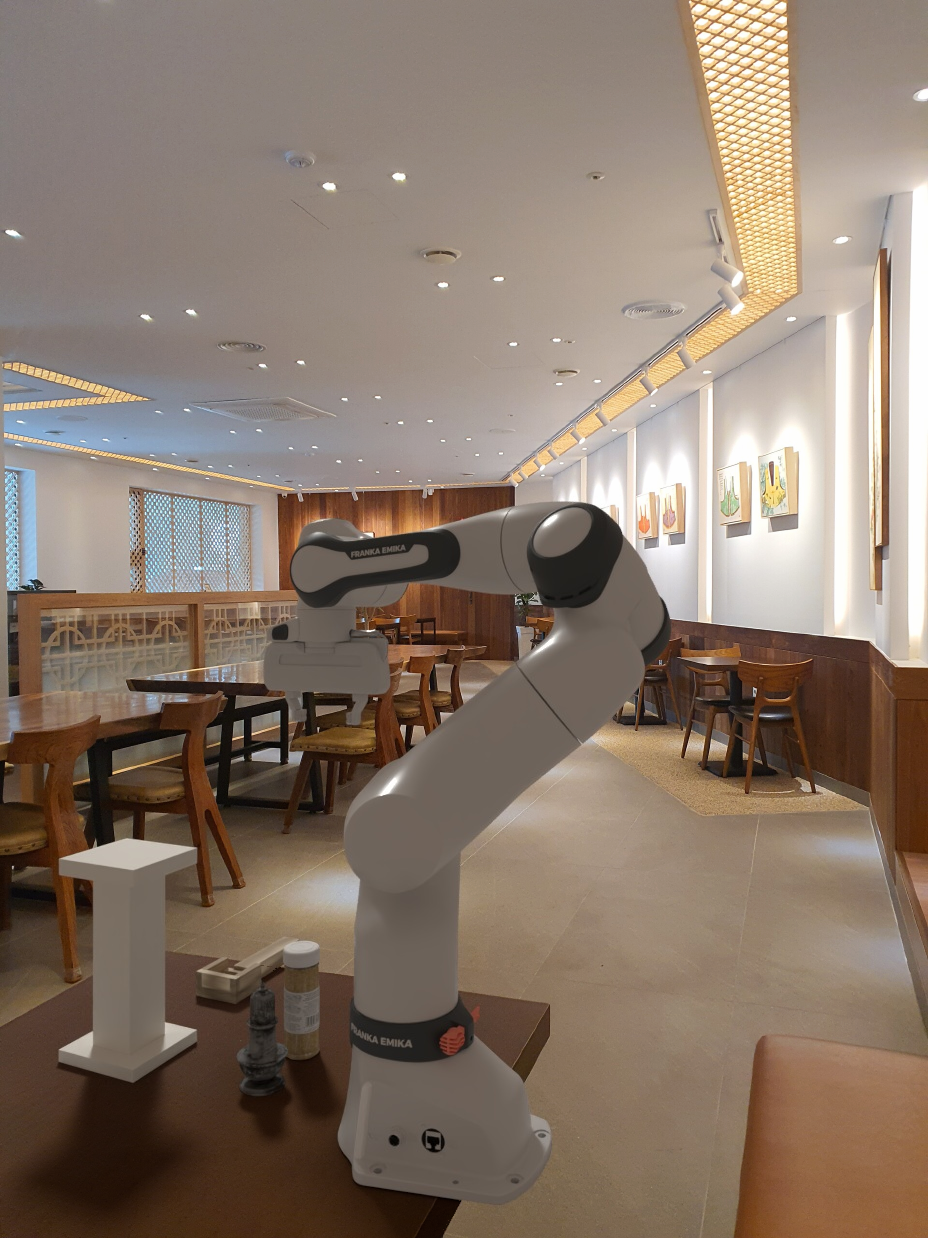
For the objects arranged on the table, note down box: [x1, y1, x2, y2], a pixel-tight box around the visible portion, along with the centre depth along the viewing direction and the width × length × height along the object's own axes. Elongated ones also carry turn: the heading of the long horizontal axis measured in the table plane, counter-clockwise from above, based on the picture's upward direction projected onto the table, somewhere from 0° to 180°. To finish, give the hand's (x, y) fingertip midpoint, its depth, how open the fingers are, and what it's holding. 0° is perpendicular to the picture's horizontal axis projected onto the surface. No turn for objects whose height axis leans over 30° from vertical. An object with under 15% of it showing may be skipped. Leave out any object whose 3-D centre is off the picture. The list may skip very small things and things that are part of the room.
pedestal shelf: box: [58, 837, 198, 1084], centre depth 110 cm, size 12×11×25 cm
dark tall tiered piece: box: [236, 981, 288, 1097], centre depth 103 cm, size 6×6×12 cm
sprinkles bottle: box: [283, 940, 321, 1061], centre depth 110 cm, size 5×5×14 cm
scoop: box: [195, 936, 301, 1005], centre depth 134 cm, size 7×19×4 cm, turn 157°
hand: (326, 723), depth 130 cm, fingers open, 8 cm apart
